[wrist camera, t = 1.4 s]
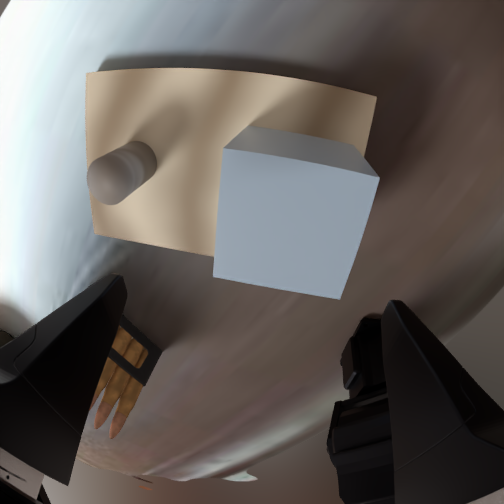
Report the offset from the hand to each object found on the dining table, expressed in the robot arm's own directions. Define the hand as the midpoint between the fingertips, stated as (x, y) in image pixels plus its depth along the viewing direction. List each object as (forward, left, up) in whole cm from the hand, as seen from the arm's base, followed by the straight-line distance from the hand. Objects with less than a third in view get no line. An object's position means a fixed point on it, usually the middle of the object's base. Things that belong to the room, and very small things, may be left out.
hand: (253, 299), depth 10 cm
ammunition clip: (+14, +18, -12) cm, 26 cm away
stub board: (+5, 0, -12) cm, 13 cm away
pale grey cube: (-1, 0, -11) cm, 11 cm away
